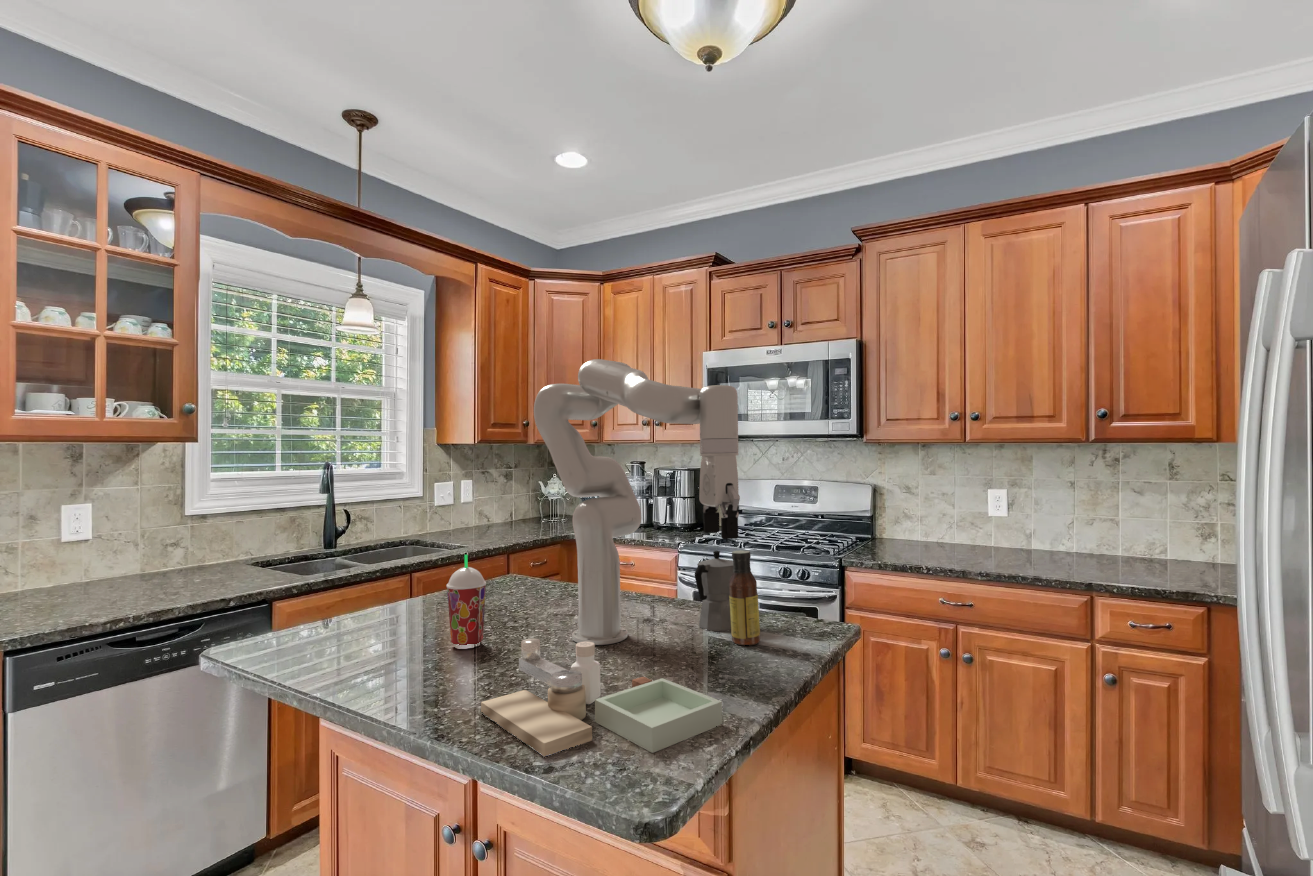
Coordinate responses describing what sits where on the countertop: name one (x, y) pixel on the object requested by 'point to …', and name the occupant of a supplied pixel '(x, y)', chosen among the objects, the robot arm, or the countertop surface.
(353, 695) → the countertop surface
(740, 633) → the sauce bottle
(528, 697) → the base
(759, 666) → the countertop surface
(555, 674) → the crank arm
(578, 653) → the salt shaker
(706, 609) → the coffeepot
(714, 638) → the countertop surface
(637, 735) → the tray
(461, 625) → the smoothie
